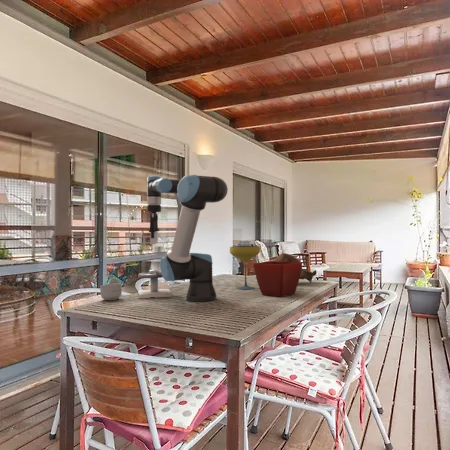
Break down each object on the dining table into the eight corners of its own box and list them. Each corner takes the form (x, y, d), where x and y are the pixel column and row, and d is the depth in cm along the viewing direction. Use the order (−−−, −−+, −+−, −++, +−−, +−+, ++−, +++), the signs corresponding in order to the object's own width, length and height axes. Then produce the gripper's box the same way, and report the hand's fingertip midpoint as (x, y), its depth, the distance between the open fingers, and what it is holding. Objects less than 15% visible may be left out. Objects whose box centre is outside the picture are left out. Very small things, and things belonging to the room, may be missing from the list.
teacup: (115, 301, 192) (115, 285, 193) (95, 301, 195) (95, 285, 195) (128, 297, 206) (127, 282, 206) (109, 297, 208) (109, 282, 208)
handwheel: (138, 278, 200) (138, 264, 201) (138, 275, 217) (137, 262, 217) (171, 277, 204) (170, 263, 205) (168, 274, 221) (167, 261, 221)
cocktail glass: (262, 290, 219) (260, 246, 220) (230, 290, 219) (229, 247, 220) (259, 286, 237) (258, 245, 238) (230, 286, 237) (229, 246, 238)
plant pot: (304, 293, 201) (303, 261, 202) (283, 298, 187) (282, 264, 188) (274, 291, 214) (273, 261, 215) (253, 295, 200) (252, 263, 201)
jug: (267, 285, 237) (315, 293, 237) (272, 255, 234) (321, 262, 233) (265, 276, 257) (310, 282, 257) (270, 247, 254) (315, 254, 253)
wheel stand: (171, 296, 204) (171, 277, 204) (138, 298, 200) (138, 279, 200) (168, 292, 221) (168, 274, 221) (138, 293, 217) (138, 276, 217)
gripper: (149, 205, 221) (149, 242, 221) (144, 203, 196) (144, 245, 197) (162, 205, 222) (162, 242, 222) (159, 204, 197) (158, 245, 197)
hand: (153, 243), depth 209 cm, fingers open, 13 cm apart
